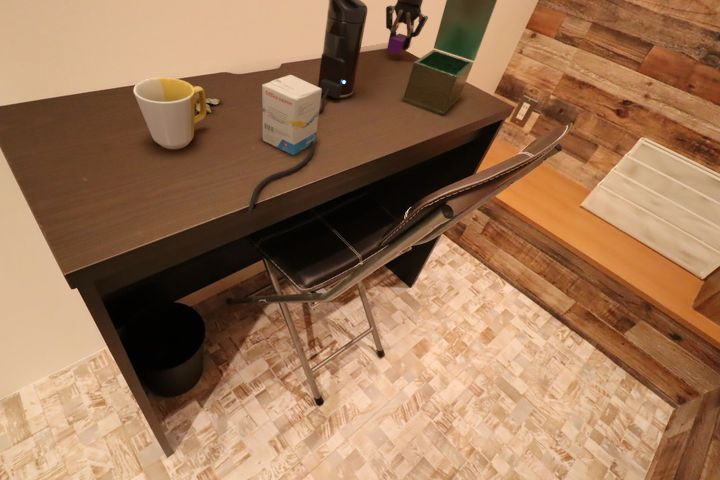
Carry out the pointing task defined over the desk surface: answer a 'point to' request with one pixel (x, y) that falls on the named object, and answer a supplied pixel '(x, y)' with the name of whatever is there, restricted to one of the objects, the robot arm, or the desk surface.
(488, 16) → the lid
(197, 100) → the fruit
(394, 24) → the robot arm
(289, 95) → the ink box
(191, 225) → the desk surface
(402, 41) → the chocolate
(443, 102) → the bin
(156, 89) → the mug
